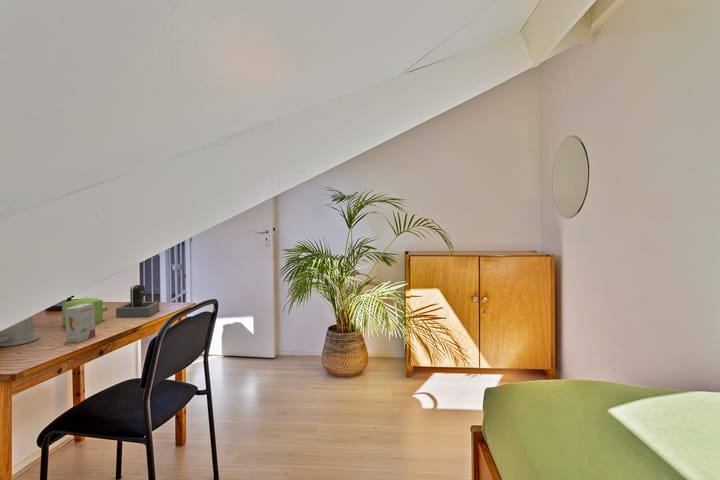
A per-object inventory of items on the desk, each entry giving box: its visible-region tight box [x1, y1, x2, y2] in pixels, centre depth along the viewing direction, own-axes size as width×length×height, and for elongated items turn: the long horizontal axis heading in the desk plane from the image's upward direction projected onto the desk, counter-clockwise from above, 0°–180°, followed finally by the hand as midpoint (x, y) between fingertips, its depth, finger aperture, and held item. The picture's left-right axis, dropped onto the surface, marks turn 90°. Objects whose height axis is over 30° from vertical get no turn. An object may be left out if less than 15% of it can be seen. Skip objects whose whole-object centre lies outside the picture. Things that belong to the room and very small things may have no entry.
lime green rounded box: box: [61, 297, 108, 327], centre depth 160 cm, size 18×10×10 cm, turn 167°
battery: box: [129, 284, 146, 307], centre depth 178 cm, size 7×4×11 cm, turn 4°
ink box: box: [65, 303, 96, 343], centre depth 141 cm, size 9×5×12 cm, turn 0°
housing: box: [115, 301, 160, 319], centre depth 179 cm, size 13×13×4 cm
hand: (56, 246), depth 163 cm, fingers open, 9 cm apart
